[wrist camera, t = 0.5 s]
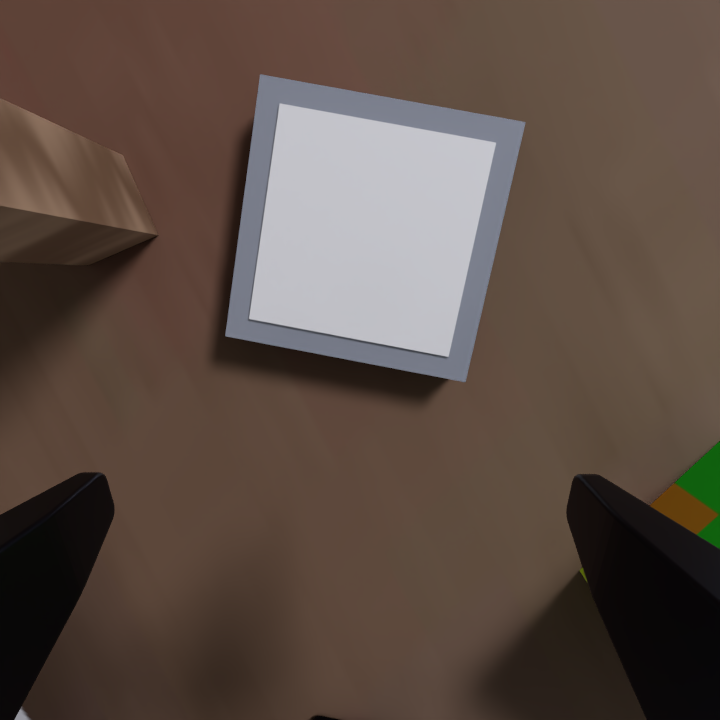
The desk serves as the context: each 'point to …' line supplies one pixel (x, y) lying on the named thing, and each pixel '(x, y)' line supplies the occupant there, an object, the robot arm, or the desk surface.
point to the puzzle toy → (695, 499)
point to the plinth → (369, 226)
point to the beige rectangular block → (63, 195)
